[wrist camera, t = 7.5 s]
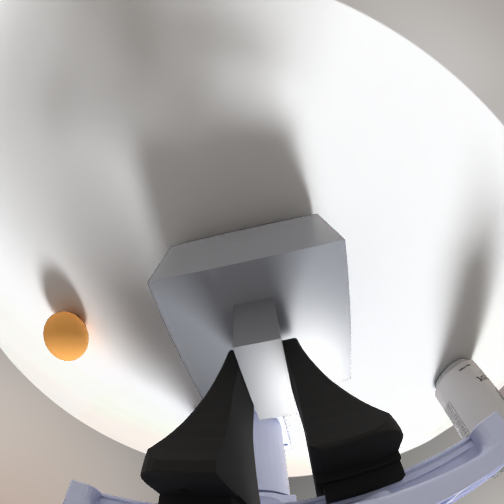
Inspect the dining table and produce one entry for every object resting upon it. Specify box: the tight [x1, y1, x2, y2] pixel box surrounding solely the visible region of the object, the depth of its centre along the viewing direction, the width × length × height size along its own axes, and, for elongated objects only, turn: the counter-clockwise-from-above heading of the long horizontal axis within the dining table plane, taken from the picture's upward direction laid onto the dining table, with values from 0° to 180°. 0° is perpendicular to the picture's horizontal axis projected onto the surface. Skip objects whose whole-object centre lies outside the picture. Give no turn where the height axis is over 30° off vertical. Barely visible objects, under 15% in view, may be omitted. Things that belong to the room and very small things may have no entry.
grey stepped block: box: [148, 214, 351, 420], centre depth 14 cm, size 9×9×8 cm
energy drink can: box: [435, 359, 504, 480], centre depth 16 cm, size 6×6×15 cm
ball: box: [43, 311, 88, 361], centre depth 18 cm, size 4×4×4 cm
